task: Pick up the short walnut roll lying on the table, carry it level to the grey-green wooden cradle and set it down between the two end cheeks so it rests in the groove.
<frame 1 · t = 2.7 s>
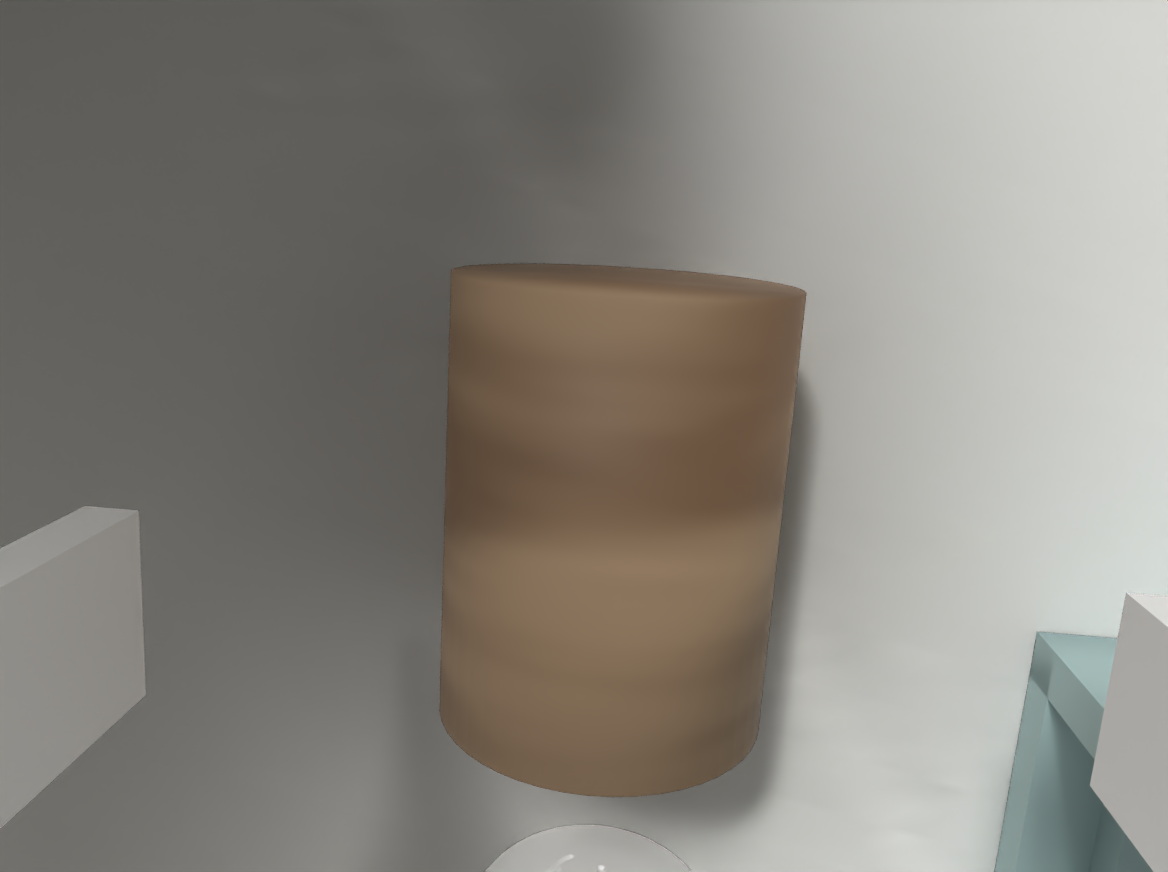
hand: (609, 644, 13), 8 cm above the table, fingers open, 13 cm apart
roll: (612, 502, 18), point 3 cm above the table
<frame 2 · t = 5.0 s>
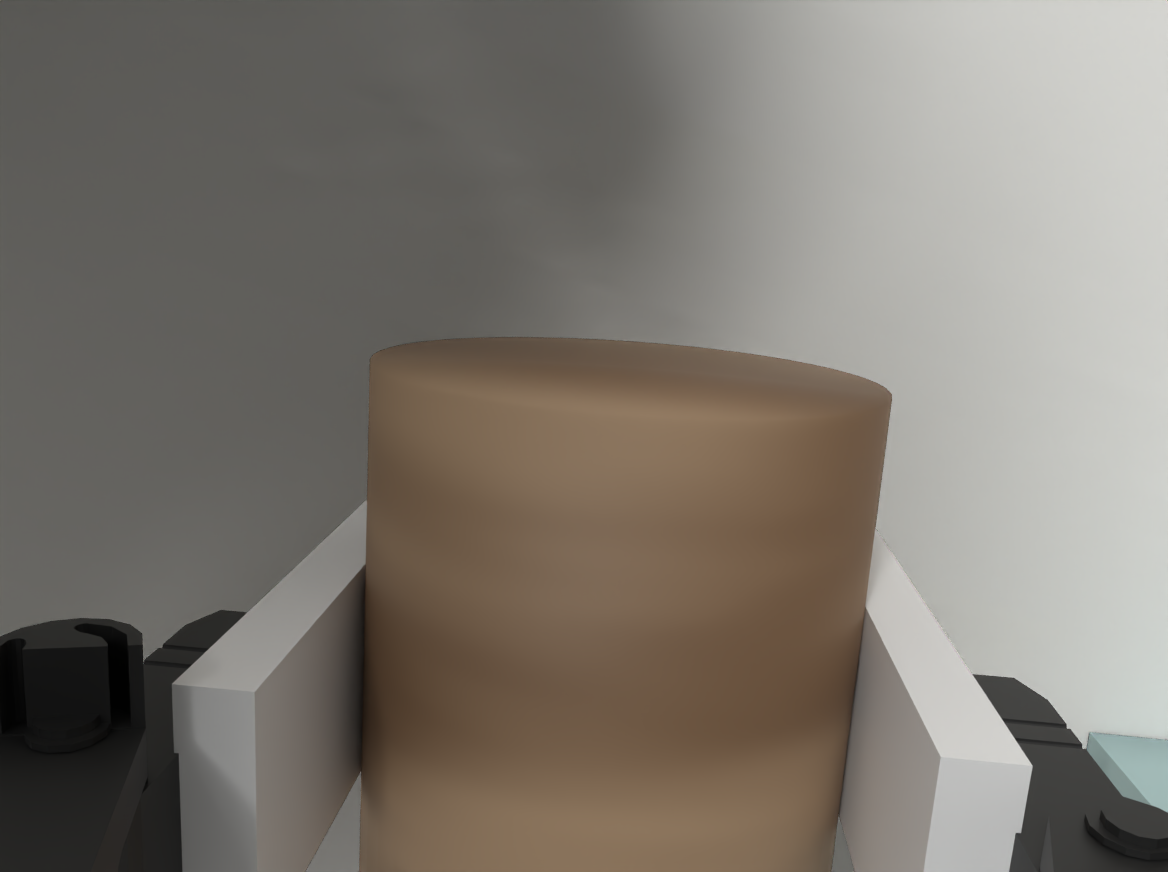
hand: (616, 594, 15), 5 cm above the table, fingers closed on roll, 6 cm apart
roll: (605, 682, 13), point 8 cm above the table, touching gripper
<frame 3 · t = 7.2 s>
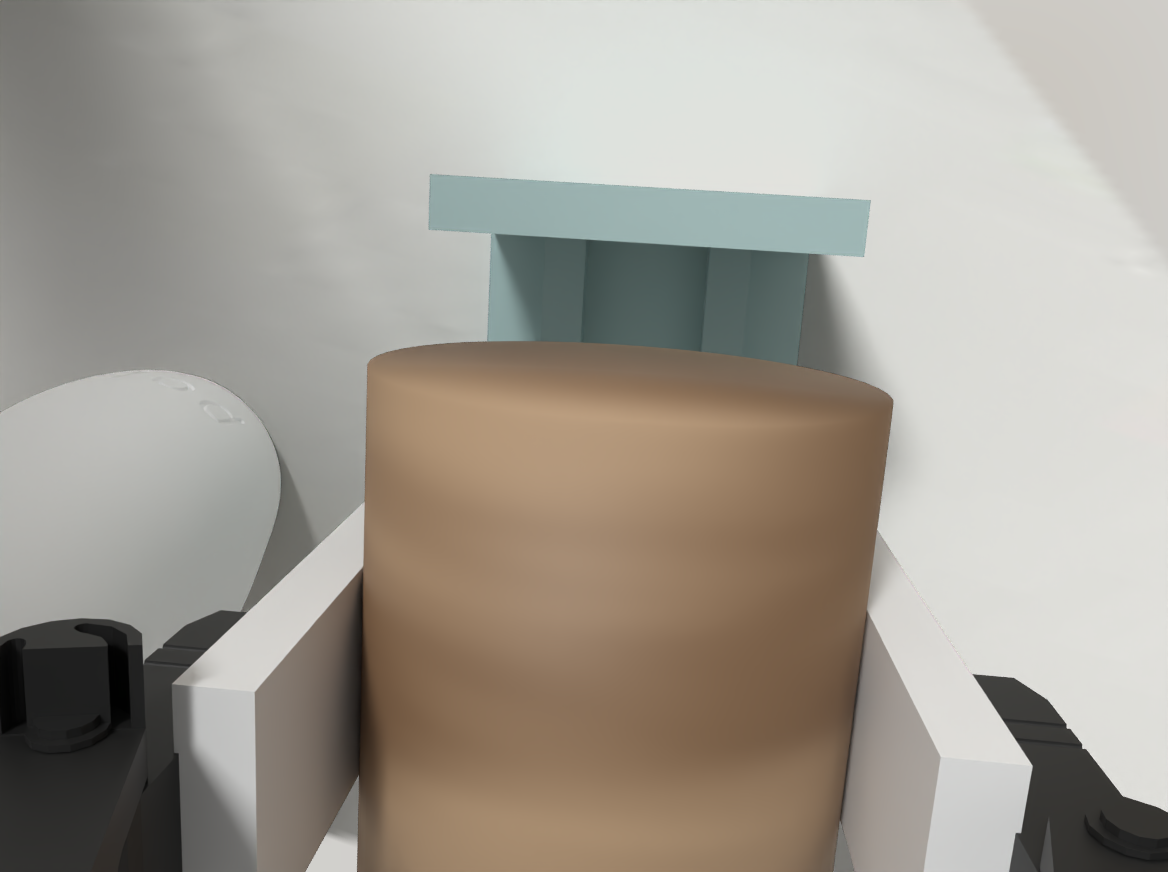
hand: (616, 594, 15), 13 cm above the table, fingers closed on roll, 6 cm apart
roll: (605, 689, 13), point 15 cm above the table, touching gripper
cradle: (636, 420, 27), on the table
figurine: (180, 487, 29), on the table
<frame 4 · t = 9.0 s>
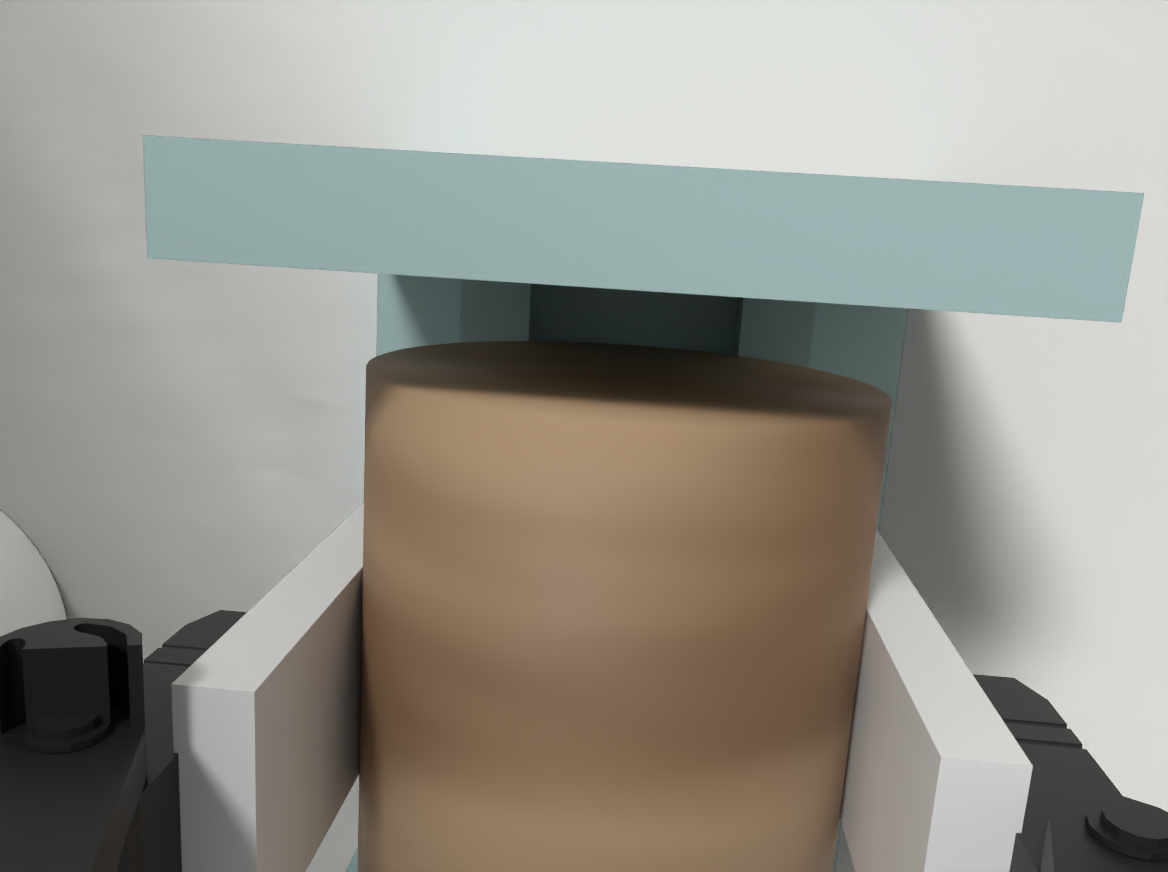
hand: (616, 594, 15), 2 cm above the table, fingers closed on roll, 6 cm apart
roll: (604, 689, 13), point 5 cm above the table, touching cradle, gripper
cradle: (621, 550, 17), on the table
when the fingers open (2 cm above the table, at t = 9.7 s): roll stays where it is, resting on cradle.
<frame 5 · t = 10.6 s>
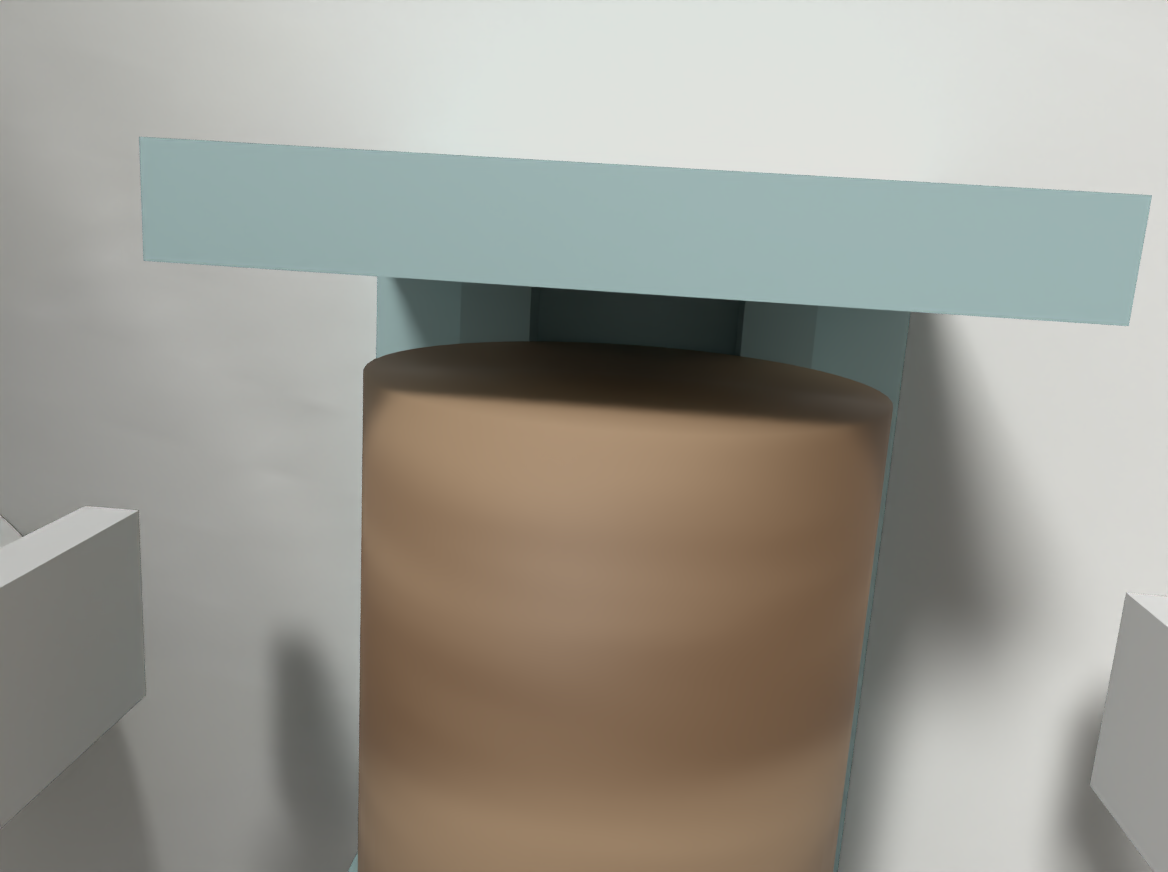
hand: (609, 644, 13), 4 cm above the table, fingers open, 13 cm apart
roll: (604, 692, 13), point 5 cm above the table, touching cradle
cradle: (622, 553, 17), on the table
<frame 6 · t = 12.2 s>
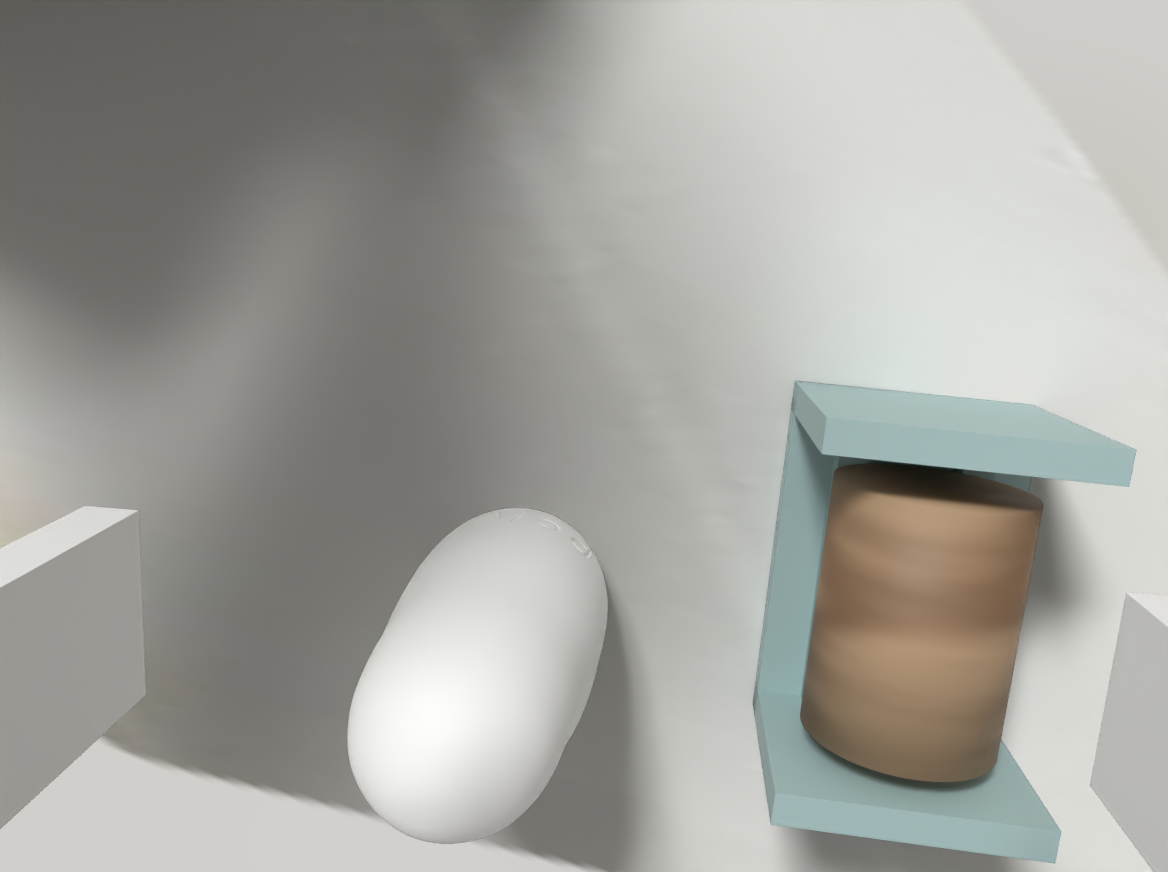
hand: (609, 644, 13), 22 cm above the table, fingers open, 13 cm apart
roll: (915, 612, 31), point 5 cm above the table, touching cradle
cradle: (887, 560, 36), on the table
figurine: (518, 594, 37), on the table
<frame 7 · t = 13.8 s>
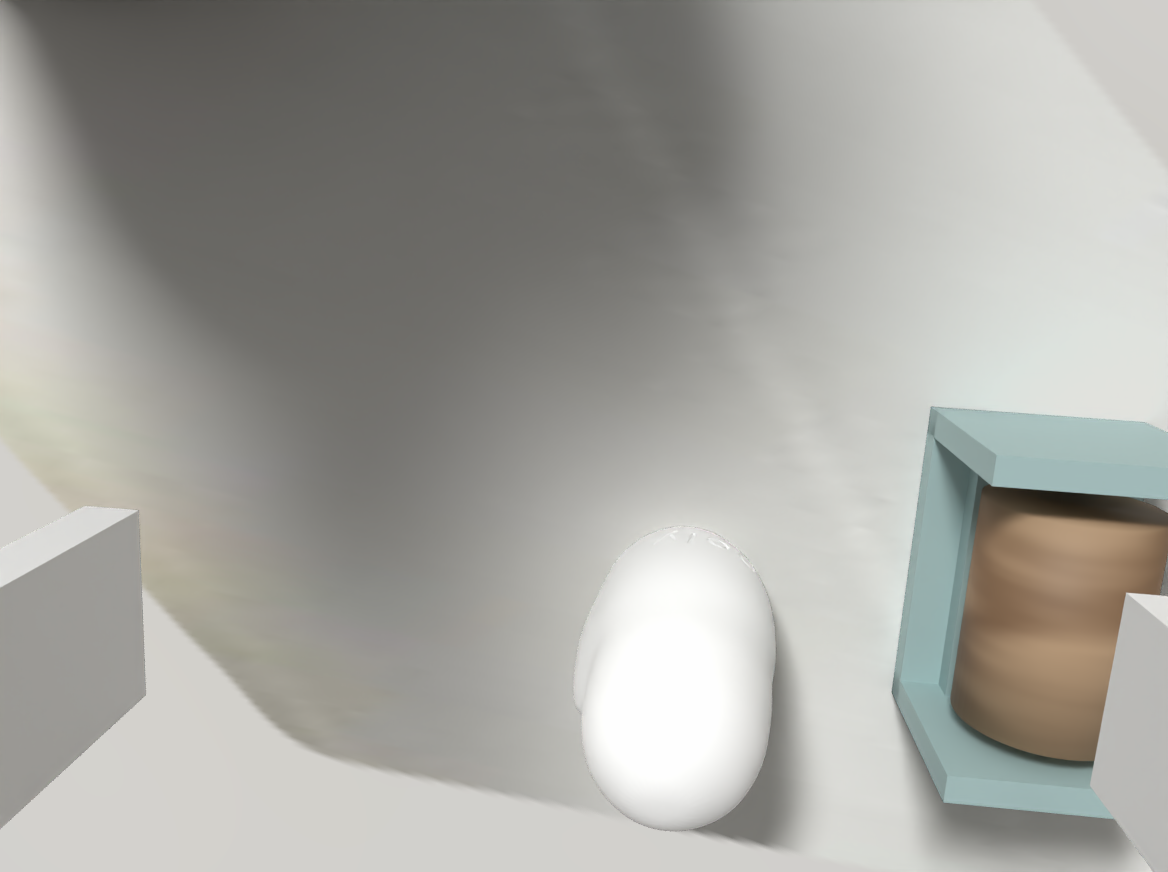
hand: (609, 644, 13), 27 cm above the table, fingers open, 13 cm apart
roll: (1055, 612, 36), point 5 cm above the table, touching cradle
cradle: (1013, 562, 40), on the table
figurine: (678, 602, 42), on the table
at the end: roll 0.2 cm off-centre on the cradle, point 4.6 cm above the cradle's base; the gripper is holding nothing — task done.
